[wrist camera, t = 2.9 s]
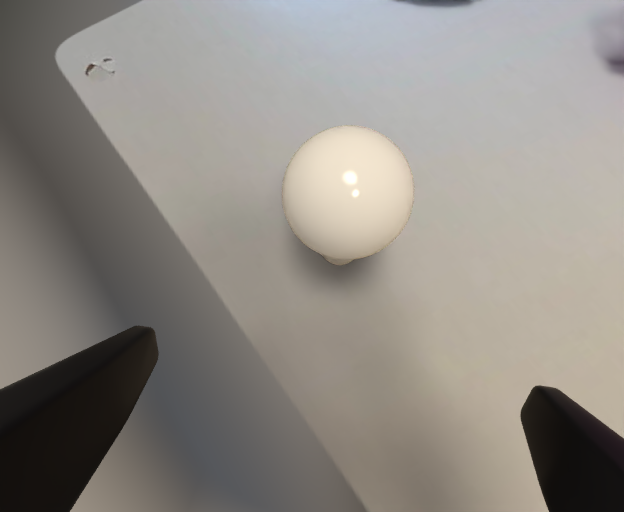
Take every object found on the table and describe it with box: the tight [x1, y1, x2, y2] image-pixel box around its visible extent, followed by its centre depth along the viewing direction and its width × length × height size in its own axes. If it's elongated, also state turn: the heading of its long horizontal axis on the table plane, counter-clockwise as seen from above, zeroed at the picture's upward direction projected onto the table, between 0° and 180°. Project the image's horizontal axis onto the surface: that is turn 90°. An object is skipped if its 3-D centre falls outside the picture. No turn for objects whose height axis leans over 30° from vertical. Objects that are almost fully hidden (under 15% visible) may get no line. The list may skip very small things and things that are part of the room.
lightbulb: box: [282, 125, 414, 265], centre depth 18 cm, size 6×6×11 cm
